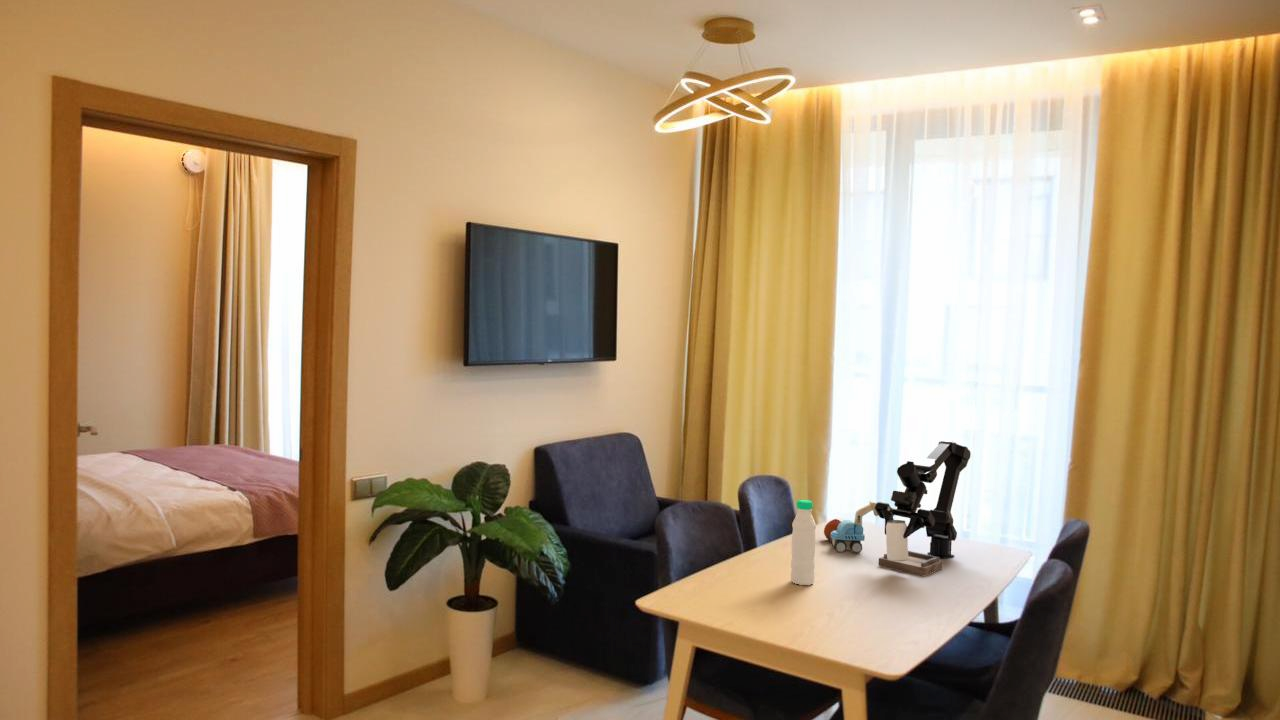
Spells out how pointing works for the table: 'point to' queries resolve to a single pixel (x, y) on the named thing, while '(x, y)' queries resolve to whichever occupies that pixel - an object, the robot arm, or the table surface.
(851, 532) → the toy excavator
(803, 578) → the water bottle
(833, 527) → the fruit
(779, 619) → the table surface
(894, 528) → the can
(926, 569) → the dock
